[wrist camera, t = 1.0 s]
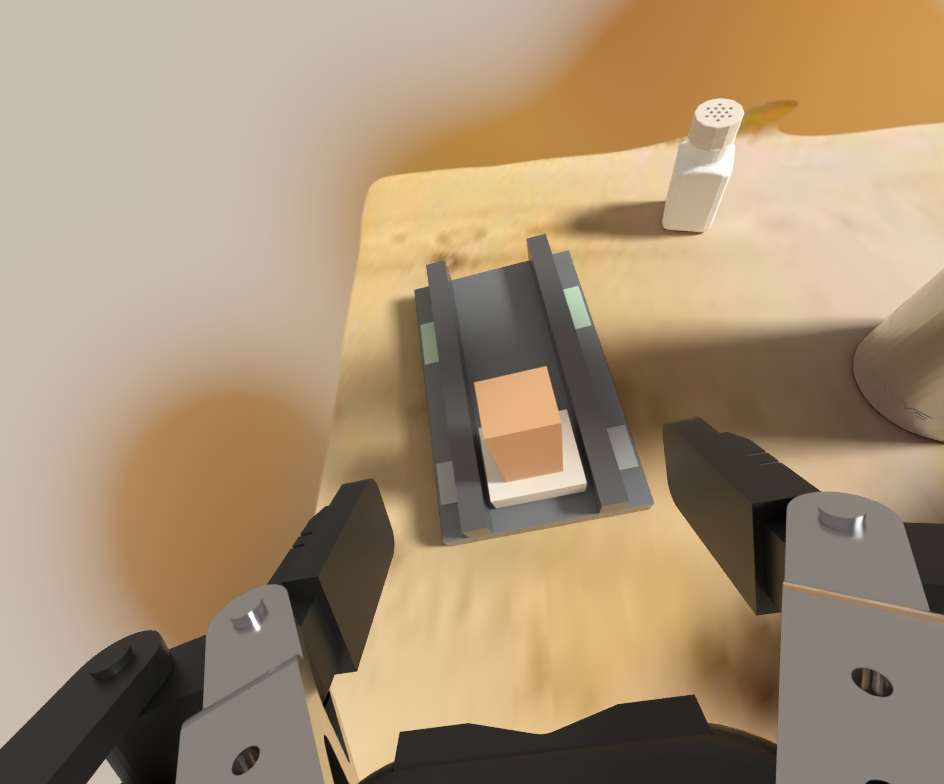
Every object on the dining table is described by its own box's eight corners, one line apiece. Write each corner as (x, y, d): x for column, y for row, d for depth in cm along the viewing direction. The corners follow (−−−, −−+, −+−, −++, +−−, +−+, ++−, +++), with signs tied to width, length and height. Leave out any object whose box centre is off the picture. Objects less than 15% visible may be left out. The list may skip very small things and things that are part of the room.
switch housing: (649, 509, 29) (662, 494, 25) (450, 546, 31) (432, 538, 27) (568, 266, 39) (568, 227, 35) (420, 303, 41) (404, 270, 37)
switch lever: (585, 491, 28) (594, 437, 19) (496, 508, 29) (461, 465, 20) (566, 421, 31) (566, 342, 21) (484, 439, 31) (448, 370, 22)
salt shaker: (665, 199, 40) (691, 94, 32) (712, 202, 39) (752, 93, 31) (659, 232, 39) (685, 131, 31) (708, 235, 38) (749, 131, 29)
